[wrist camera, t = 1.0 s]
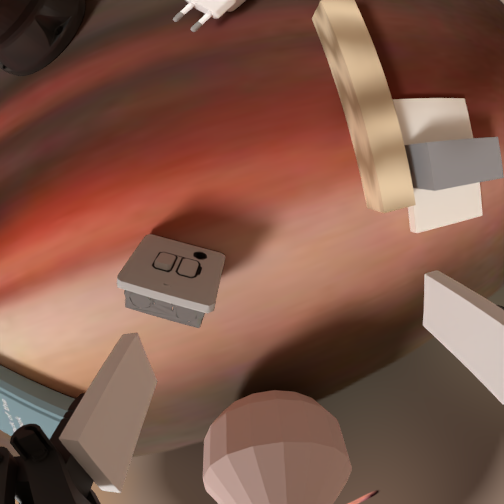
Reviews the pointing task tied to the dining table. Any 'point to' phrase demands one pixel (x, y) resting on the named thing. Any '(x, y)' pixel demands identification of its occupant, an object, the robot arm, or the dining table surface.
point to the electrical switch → (172, 280)
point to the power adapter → (208, 9)
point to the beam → (366, 105)
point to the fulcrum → (445, 161)
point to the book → (29, 404)
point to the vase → (275, 452)
